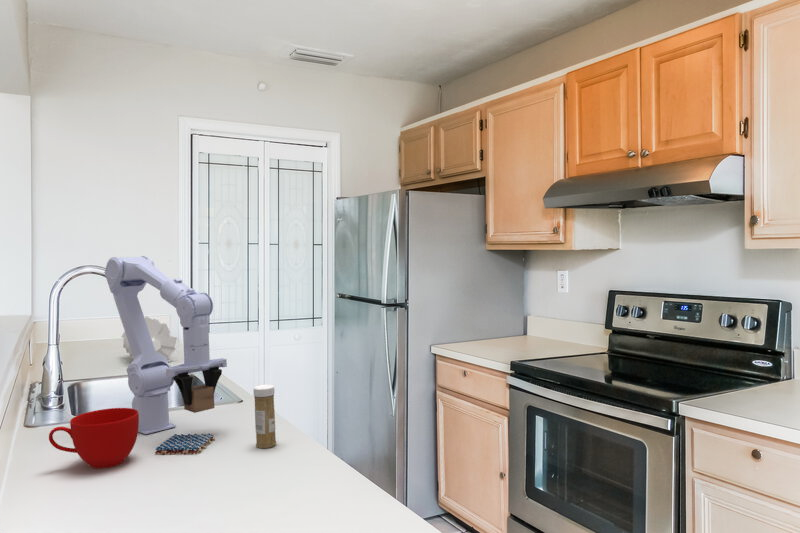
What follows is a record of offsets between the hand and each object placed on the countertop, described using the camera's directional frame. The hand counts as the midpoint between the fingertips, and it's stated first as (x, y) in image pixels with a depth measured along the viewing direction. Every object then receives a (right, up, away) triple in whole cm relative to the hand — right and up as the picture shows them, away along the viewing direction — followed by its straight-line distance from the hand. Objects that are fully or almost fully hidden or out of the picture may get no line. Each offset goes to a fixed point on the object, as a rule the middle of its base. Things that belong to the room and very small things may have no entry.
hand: (198, 402), depth 142 cm
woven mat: (-1, -9, -6) cm, 11 cm away
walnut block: (0, -2, 0) cm, 2 cm away
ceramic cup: (-16, -10, -16) cm, 25 cm away
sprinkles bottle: (+18, -8, -7) cm, 21 cm away
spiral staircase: (-55, -7, +104) cm, 118 cm away
